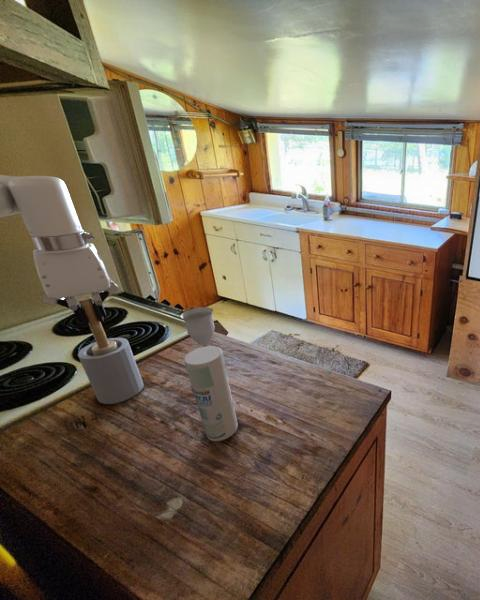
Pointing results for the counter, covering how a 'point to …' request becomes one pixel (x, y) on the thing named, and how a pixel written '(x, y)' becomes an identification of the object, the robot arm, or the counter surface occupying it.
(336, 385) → the counter surface
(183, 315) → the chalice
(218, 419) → the spray can
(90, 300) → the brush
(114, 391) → the cup
